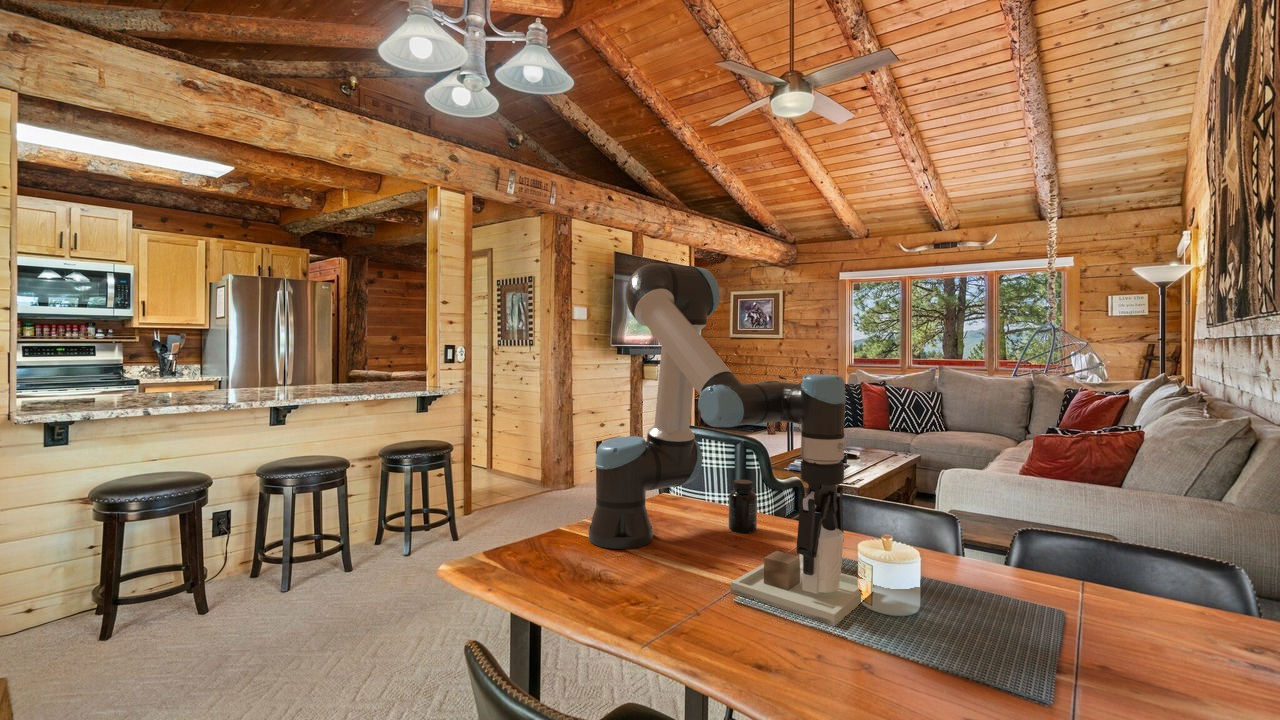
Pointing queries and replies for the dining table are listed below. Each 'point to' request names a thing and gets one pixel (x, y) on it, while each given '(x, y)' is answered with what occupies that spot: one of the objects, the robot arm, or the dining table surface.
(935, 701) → the dining table surface
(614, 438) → the robot arm
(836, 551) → the white cup
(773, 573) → the walnut block
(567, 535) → the dining table surface
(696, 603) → the dining table surface
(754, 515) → the supplement bottle
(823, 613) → the tray
